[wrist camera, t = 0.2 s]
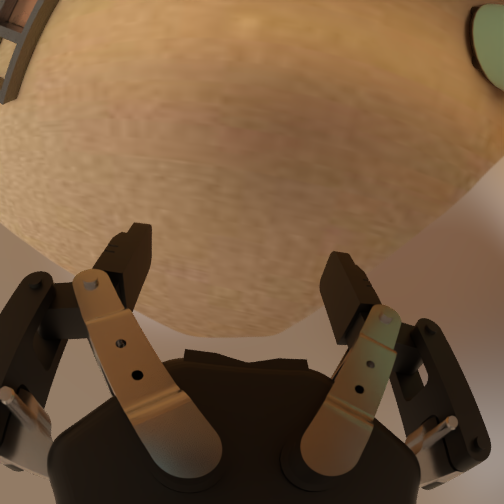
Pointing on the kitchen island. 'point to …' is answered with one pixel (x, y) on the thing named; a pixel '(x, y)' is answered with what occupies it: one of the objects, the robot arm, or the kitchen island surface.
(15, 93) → the socket rail
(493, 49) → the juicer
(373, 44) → the kitchen island surface
